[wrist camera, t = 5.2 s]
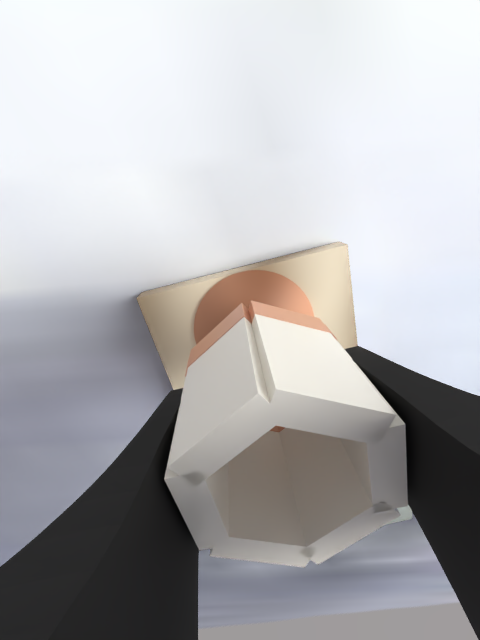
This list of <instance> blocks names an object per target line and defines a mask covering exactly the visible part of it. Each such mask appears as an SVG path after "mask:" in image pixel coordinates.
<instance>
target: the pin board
mask: <svg viewBox="0 0 480 640" xmlns="http://www.w3.org/2000/svg"><path fill="white" fill-rule="evenodd" d="M136 299H137V301H138V304H139V306H140V309H141V311H142V313H143V316H144V318H145V321H146V323H147V326H148V328H149V331H150V333H151V336H152V338H153V341H154V343H155V346H156V348H157V351H158V353H159V355H160V358H161V360H162V363H163V365H164V368H165V370H166V373H167V375H168V378H169V380H170V383H171V385H172V388H173V390H176V389H180V388H183V387H184V382H185V373H186V369H187V364H188V359H189V356H190V352H191V349H192V348H193V347H195V346H196V345H197V344H198V343H199V342H200V341H201V340H202V339H203V338H204V337H205V336H206V335H207V334H209V333H210V332H211V331H212V330H213V329H214V328H215V327H216V326H217V325H218V324H219V323H220V322H221V321H223V320H224V319H225V318H226V317H227V316H228V315H229V314H230V313H231V312H232V311H233V310H234V309H235V308H237V307H238V306H239V305H240V304H241V303H243V304H244V305H245V306H246V307H247V308H249V305H250V302H251V301H255V302H259V303H263V304H267V305H271V306H274V307H278V308H282V309H286V310H290V311H294V312H298V313H301V314H305V315H309V316H313V317H317V318H320V319H321V321H322V322H323V323H324V324H325V325H326V326H327V327H328V328H329V330H330V331H331V332H332V333H333V334H334V336H335V337H336V338H337V341H338V342H339V343H340V344H341V346H342V347H343V348H344V349H347V348H351V347H355V346H357V336H356V325H355V315H354V305H353V295H352V285H351V275H350V265H349V255H348V245H347V244H344V243H342V242H336V243H332V244H328V245H324V246H320V247H317V248H313V249H309V250H305V251H301V252H297V253H293V254H289V255H285V256H281V257H277V258H274V259H270V260H266V261H262V262H258V263H254V264H250V265H246V266H242V267H238V268H234V269H231V270H227V271H223V272H219V273H215V274H211V275H207V276H203V277H199V278H195V279H192V280H188V281H184V282H180V283H176V284H172V285H168V286H164V287H160V288H156V289H152V290H149V291H145V292H142V293H141V294H140V295H139V296H138V297H137V298H136Z"/></svg>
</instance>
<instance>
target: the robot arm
mask: <svg viewBox="0 0 480 640" xmlns="http://www.w3.org/2000/svg"><path fill="white" fill-rule="evenodd" d="M345 351H346V352H347V353H348V354H349V355H350V357H351V358H352V359H353V361H354V362H355V363H356V364H357V365H358V367H359V368H360V369H361V370H362V371H363V373H364V374H365V375H366V376H367V378H368V379H369V380H370V381H371V382H372V384H373V385H374V386H375V387H376V389H377V390H378V391H379V392H380V394H381V395H382V396H383V397H384V398H385V400H386V401H387V402H388V403H389V405H390V406H391V407H392V408H393V410H394V411H395V412H396V413H397V414H398V416H399V417H400V418H401V419H402V421H403V422H404V423H405V429H406V461H407V494H408V505H409V506H410V508H411V510H412V512H413V514H414V515H415V517H416V519H417V521H418V523H419V525H420V527H421V528H422V530H423V532H424V534H425V536H426V538H427V540H428V541H429V543H430V545H431V547H432V549H433V551H434V553H435V555H436V557H437V559H438V561H439V562H440V564H441V566H442V568H443V570H444V572H445V574H446V576H447V578H448V580H449V582H450V584H451V586H452V588H453V589H454V591H455V593H456V595H457V597H458V599H459V601H460V603H461V605H462V607H463V609H464V611H465V613H466V615H467V617H468V619H469V621H470V623H471V625H472V627H473V629H474V631H475V633H476V635H477V637H478V639H479V640H480V396H477V395H474V394H471V393H468V392H465V391H462V390H460V389H457V388H454V387H452V386H449V385H446V384H444V383H441V382H439V381H436V380H433V379H431V378H428V377H426V376H424V375H421V374H419V373H416V372H414V371H412V370H410V369H407V368H405V367H403V366H401V365H398V364H396V363H394V362H392V361H390V360H388V359H385V358H383V357H381V356H379V355H377V354H375V353H373V352H371V351H368V350H366V349H364V348H362V347H359V346H355V347H351V348H347V349H345ZM182 392H183V388H180V389H176V390H172V391H170V393H169V394H168V395H167V396H166V397H165V399H164V400H163V401H162V403H161V404H160V405H159V406H158V408H157V409H156V410H155V412H154V413H153V414H152V416H151V417H150V418H149V419H148V421H147V422H146V423H145V425H144V426H143V427H142V428H141V430H140V431H139V432H138V434H137V435H136V436H135V437H134V438H133V440H132V441H131V442H130V443H129V444H128V445H127V447H126V448H125V449H124V450H123V451H122V453H121V454H120V455H119V456H118V457H117V458H116V460H115V461H114V462H113V463H112V464H111V465H110V466H109V467H108V469H107V470H106V471H105V472H104V473H103V474H102V475H101V476H100V477H99V478H98V479H97V480H96V481H95V482H94V483H93V484H92V485H91V486H90V487H89V488H88V489H87V490H86V491H85V492H84V493H83V494H82V495H81V496H80V497H79V498H78V499H77V500H76V501H75V502H74V503H73V504H72V505H71V506H70V507H69V508H68V509H67V510H66V511H64V512H63V513H62V514H61V515H60V516H59V517H58V518H57V519H56V520H54V521H53V522H52V523H51V524H50V525H49V526H48V527H47V528H46V529H45V530H43V531H42V532H41V533H40V534H39V535H38V536H37V537H36V538H35V539H33V540H32V541H31V542H30V543H29V544H27V545H26V546H25V547H24V548H23V549H21V550H20V551H19V552H18V553H17V554H15V555H14V556H13V557H12V558H11V559H9V560H8V561H7V562H6V563H5V564H3V565H2V566H1V567H0V640H198V553H199V549H198V547H197V545H196V543H195V541H194V539H193V537H192V535H191V533H190V531H189V528H188V526H187V524H186V522H185V520H184V518H183V516H182V514H181V512H180V510H179V508H178V506H177V504H176V502H175V500H174V498H173V496H172V494H171V492H170V490H169V488H168V486H167V484H166V482H165V480H164V477H165V472H166V468H167V463H168V458H169V453H170V449H171V444H172V439H173V434H174V430H175V425H176V420H177V415H178V411H179V407H180V403H181V396H182Z"/></svg>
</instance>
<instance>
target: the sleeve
mask: <svg viewBox="0 0 480 640" xmlns="http://www.w3.org/2000/svg"><path fill="white" fill-rule="evenodd" d="M164 480H165V482H166V484H167V486H168V488H169V490H170V492H171V494H172V496H173V498H174V500H175V502H176V504H177V506H178V508H179V510H180V512H181V514H182V516H183V518H184V520H185V522H186V524H187V526H188V528H189V531H190V533H191V535H192V537H193V539H194V541H195V543H196V545H197V547H198V549H199V551H201V550H206V549H210V557H218V558H227V559H236V560H244V561H253V562H262V563H270V564H279V565H288V566H296V567H306V565H307V564H308V562H309V560H311V561H313V562H314V563H316V564H318V565H319V564H320V563H322V562H324V561H325V560H327V559H329V558H330V557H332V556H334V555H335V554H337V553H339V552H340V551H342V550H344V549H346V548H347V547H349V546H351V545H352V544H354V543H356V542H357V541H359V540H361V539H362V538H364V537H366V536H367V535H369V534H371V533H372V532H374V531H376V530H377V529H379V528H381V527H382V526H384V525H386V524H388V523H389V522H391V521H393V520H394V519H396V518H398V517H399V516H401V514H400V513H399V511H398V509H397V508H400V507H405V506H408V494H407V461H406V429H405V423H404V422H403V421H402V419H401V418H400V417H399V416H398V414H397V413H396V412H395V411H394V410H393V408H392V407H391V406H390V405H389V403H388V402H387V401H386V400H385V398H384V397H383V396H382V395H381V394H380V392H379V391H378V390H377V389H376V387H375V386H374V385H373V384H372V382H371V381H370V380H369V379H368V378H367V376H366V375H365V374H364V373H363V371H362V370H361V369H360V368H359V367H358V365H357V364H356V363H355V362H354V361H353V359H352V358H351V357H350V355H349V354H348V353H347V352H346V351H345V349H344V348H343V347H342V346H341V344H340V343H339V342H338V341H337V338H336V337H335V336H334V334H333V333H332V332H331V331H330V330H329V328H328V327H327V326H326V325H325V324H324V323H323V322H322V321H321V319H320V318H317V317H313V316H309V315H305V314H301V313H298V312H294V311H290V310H286V309H282V308H278V307H274V306H271V305H267V304H263V303H259V302H255V301H251V302H250V305H249V308H247V307H246V306H245V305H244V304H243V303H241V304H240V305H239V306H238V307H237V308H235V309H234V310H233V311H232V312H231V313H230V314H229V315H228V316H227V317H226V318H225V319H224V320H223V321H221V322H220V323H219V324H218V325H217V326H216V327H215V328H214V329H213V330H212V331H211V332H210V333H209V334H207V335H206V336H205V337H204V338H203V339H202V340H201V341H200V342H199V343H198V344H197V345H196V346H195V347H193V348H192V349H191V352H190V356H189V359H188V364H187V369H186V373H185V382H184V387H183V392H182V396H181V403H180V407H179V411H178V415H177V420H176V425H175V430H174V434H173V439H172V444H171V449H170V453H169V458H168V463H167V468H166V472H165V477H164Z"/></svg>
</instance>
